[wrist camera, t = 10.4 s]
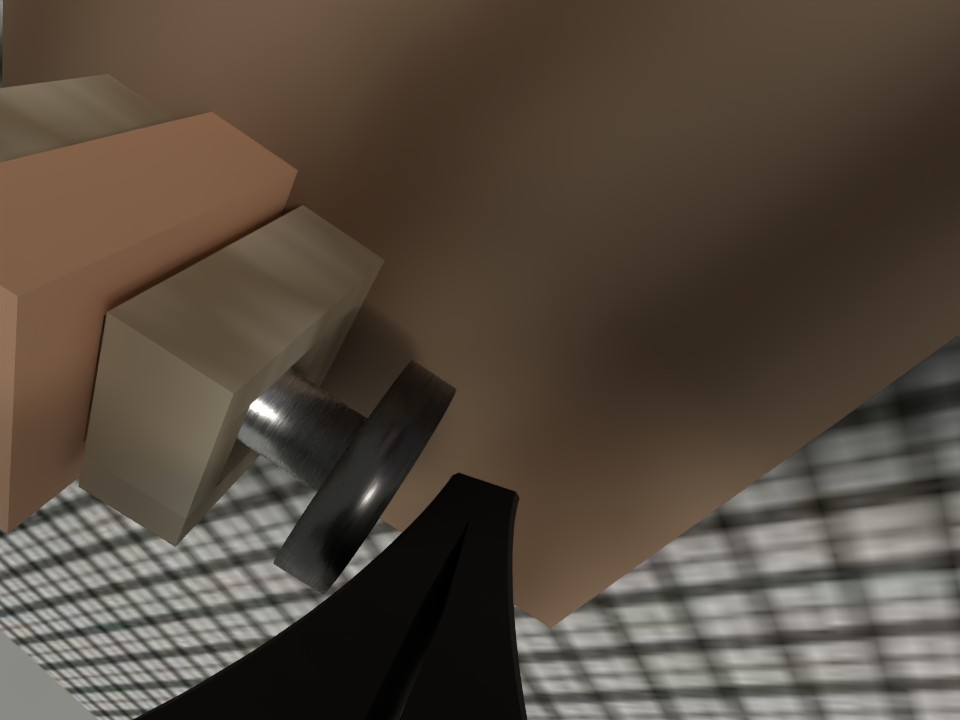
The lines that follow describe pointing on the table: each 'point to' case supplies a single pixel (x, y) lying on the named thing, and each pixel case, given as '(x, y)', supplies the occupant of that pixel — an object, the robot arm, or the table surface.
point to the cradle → (525, 241)
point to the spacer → (104, 270)
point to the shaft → (341, 460)
